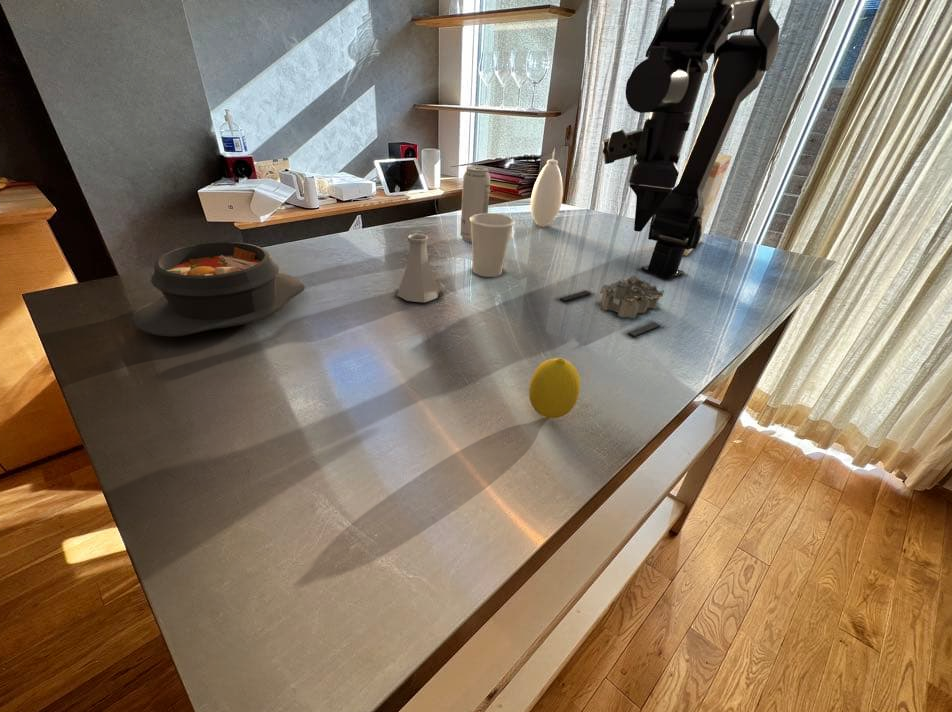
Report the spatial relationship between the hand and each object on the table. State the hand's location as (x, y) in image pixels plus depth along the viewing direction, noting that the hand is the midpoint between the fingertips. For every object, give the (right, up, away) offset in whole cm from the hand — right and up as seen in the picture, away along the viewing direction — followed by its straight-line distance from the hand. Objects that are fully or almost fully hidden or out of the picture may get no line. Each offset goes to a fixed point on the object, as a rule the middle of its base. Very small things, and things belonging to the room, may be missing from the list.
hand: (638, 223), depth 73 cm
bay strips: (-4, -14, +3) cm, 15 cm away
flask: (-37, -11, +4) cm, 39 cm away
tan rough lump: (0, -13, +5) cm, 14 cm away
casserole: (-66, -16, -4) cm, 68 cm away
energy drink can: (-27, +9, +31) cm, 42 cm away
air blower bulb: (-8, +17, +44) cm, 48 cm away
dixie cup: (-24, -4, +15) cm, 29 cm away
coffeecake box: (+25, +9, +36) cm, 45 cm away
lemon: (-19, -32, -21) cm, 43 cm away
